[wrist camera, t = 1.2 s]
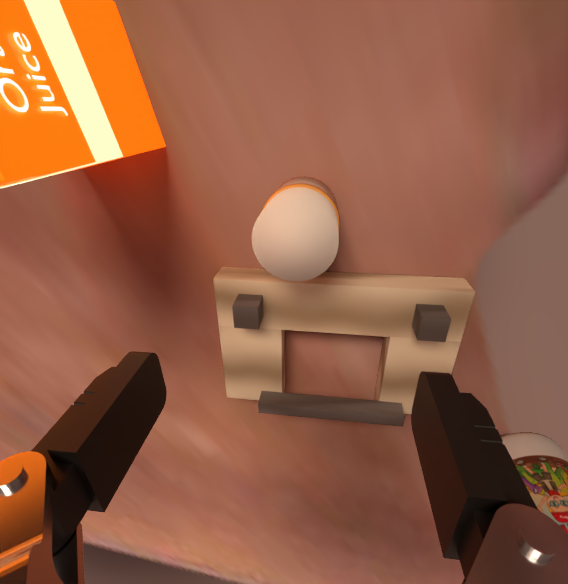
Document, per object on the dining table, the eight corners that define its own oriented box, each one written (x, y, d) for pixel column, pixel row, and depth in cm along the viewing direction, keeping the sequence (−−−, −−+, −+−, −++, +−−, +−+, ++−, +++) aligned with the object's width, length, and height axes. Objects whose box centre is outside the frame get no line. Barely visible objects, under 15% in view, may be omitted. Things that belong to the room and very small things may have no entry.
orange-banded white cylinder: (268, 174, 25) (247, 195, 19) (341, 175, 25) (344, 197, 19) (270, 243, 28) (252, 280, 22) (336, 245, 27) (337, 285, 21)
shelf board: (221, 266, 29) (205, 290, 26) (464, 278, 27) (486, 305, 23) (233, 380, 36) (221, 413, 32) (432, 397, 33) (444, 435, 29)
